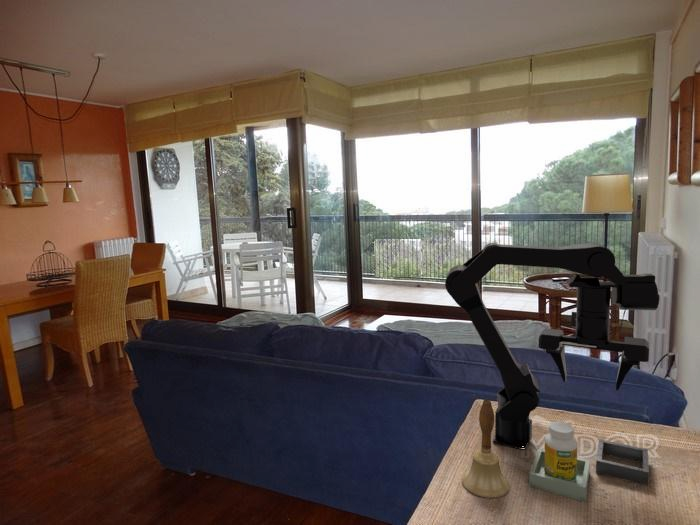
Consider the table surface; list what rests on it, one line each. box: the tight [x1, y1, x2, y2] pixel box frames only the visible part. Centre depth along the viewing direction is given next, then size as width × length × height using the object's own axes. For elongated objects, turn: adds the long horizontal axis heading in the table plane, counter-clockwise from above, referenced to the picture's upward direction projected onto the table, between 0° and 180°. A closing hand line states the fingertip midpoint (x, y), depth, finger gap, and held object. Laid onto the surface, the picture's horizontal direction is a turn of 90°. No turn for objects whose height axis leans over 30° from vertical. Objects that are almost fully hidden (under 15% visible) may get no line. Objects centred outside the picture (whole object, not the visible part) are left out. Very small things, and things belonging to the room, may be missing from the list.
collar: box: [595, 439, 650, 486], centre depth 87 cm, size 8×8×2 cm
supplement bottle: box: [544, 421, 579, 482], centre depth 84 cm, size 5×5×10 cm
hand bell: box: [461, 399, 511, 499], centre depth 83 cm, size 8×8×16 cm
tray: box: [528, 448, 591, 502], centre depth 84 cm, size 9×9×2 cm
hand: (590, 385), depth 92 cm, fingers open, 9 cm apart
